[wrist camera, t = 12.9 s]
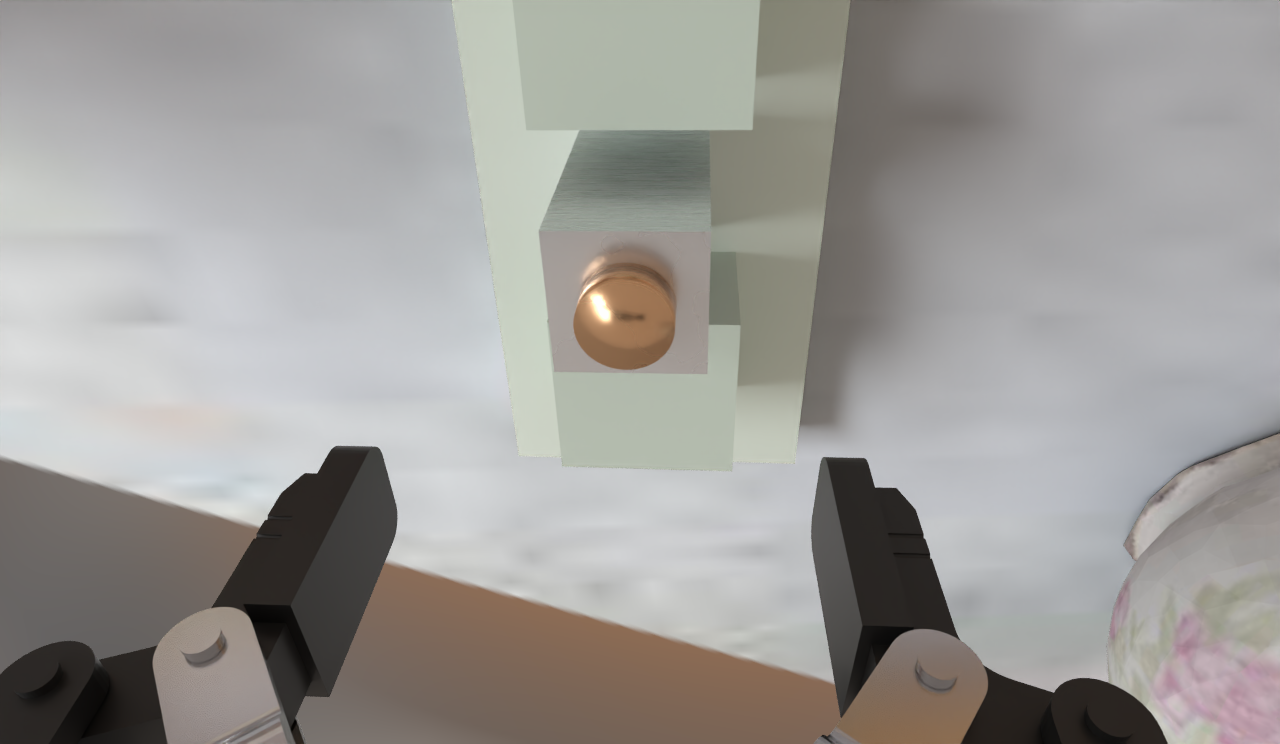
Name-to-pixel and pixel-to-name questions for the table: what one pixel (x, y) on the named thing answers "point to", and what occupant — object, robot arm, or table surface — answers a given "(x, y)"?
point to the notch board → (740, 206)
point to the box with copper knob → (630, 253)
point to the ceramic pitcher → (1206, 602)
